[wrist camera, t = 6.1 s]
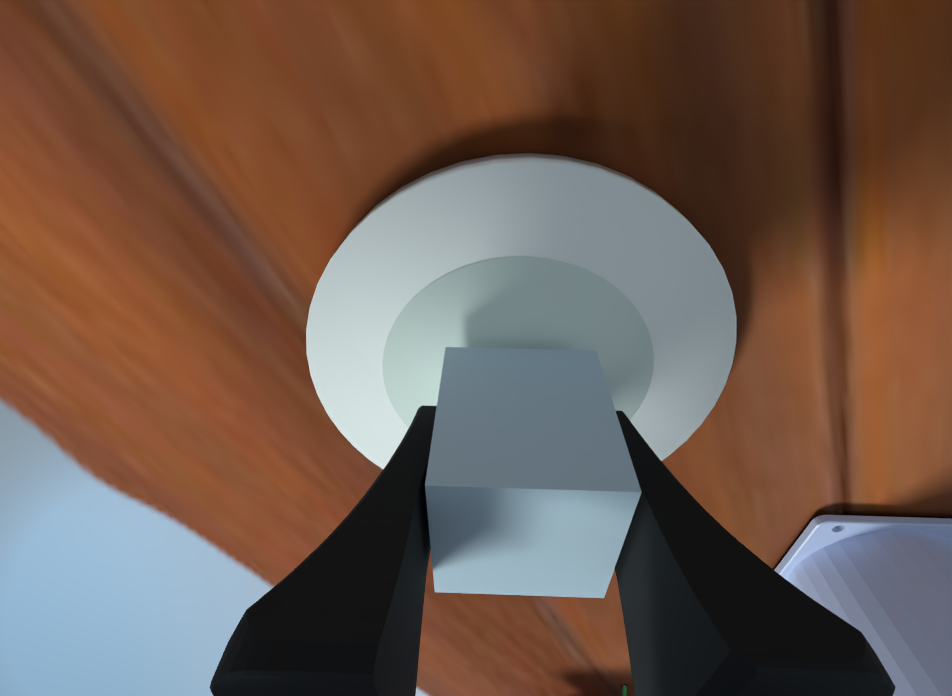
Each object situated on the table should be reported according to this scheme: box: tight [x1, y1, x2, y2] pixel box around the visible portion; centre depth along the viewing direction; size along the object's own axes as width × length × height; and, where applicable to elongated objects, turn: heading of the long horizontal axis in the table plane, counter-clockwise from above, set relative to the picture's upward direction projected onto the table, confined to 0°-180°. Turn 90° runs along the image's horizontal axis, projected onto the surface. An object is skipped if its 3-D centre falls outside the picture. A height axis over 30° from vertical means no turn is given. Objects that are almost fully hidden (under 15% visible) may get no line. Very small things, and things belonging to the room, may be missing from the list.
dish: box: [306, 153, 737, 469], centre depth 16 cm, size 14×14×1 cm
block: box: [425, 347, 641, 598], centre depth 13 cm, size 4×4×5 cm
